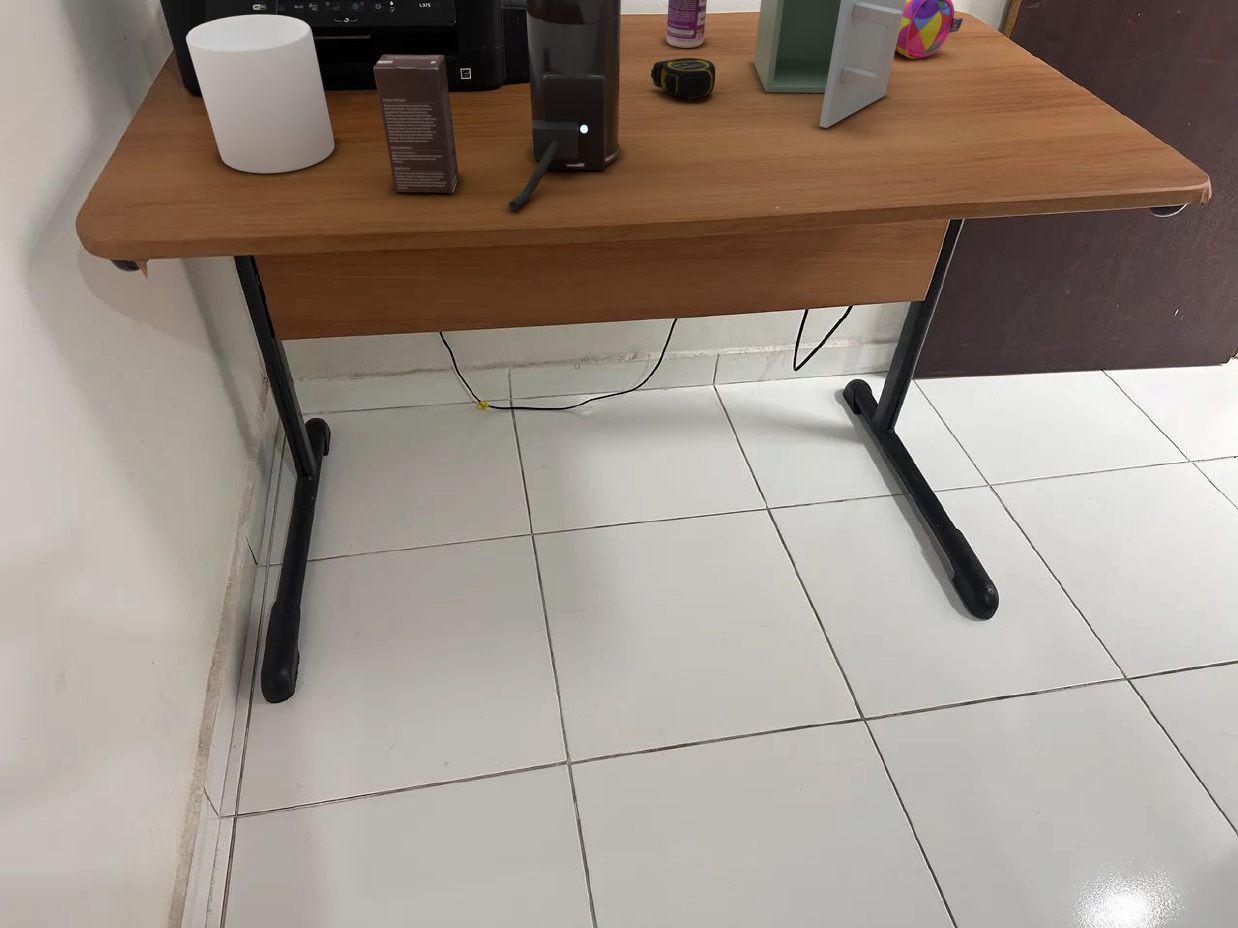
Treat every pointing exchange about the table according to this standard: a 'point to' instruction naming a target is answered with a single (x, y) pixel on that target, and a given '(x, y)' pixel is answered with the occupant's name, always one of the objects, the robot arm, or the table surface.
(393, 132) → the box
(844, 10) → the cabinet door
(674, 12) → the pill bottle
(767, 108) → the table surface
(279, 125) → the white cylinder
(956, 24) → the colorful pencil case
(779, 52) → the cabinet
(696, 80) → the tape measure
